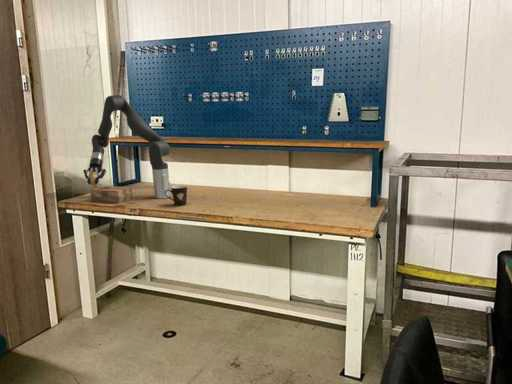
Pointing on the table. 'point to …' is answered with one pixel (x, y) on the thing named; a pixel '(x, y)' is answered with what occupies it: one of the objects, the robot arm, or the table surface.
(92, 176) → the wooden key
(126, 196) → the brown rectangular block
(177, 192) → the coffee mug
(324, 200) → the table surface
